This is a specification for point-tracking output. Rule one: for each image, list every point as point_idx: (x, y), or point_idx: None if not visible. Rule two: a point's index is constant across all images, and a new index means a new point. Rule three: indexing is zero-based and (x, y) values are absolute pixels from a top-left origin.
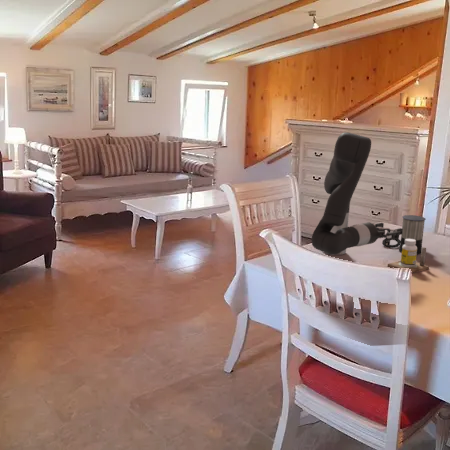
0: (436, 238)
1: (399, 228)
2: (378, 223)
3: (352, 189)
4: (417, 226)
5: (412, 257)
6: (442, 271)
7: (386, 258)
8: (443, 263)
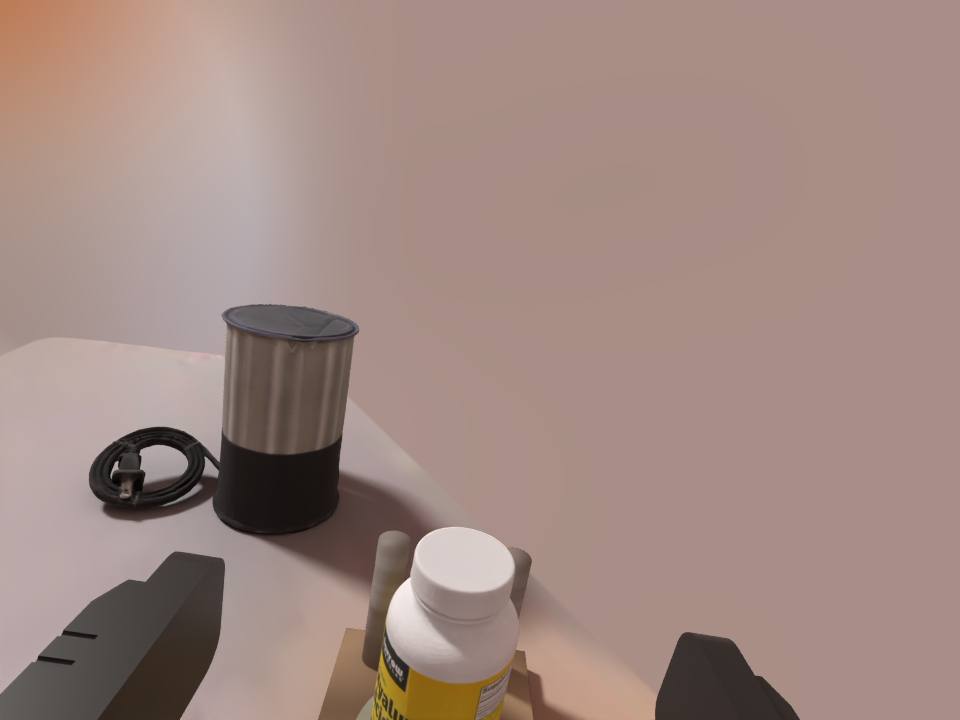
0: None
1: (724, 675)
2: (95, 673)
3: None
4: (334, 371)
5: (501, 708)
6: (589, 647)
7: None
8: None
